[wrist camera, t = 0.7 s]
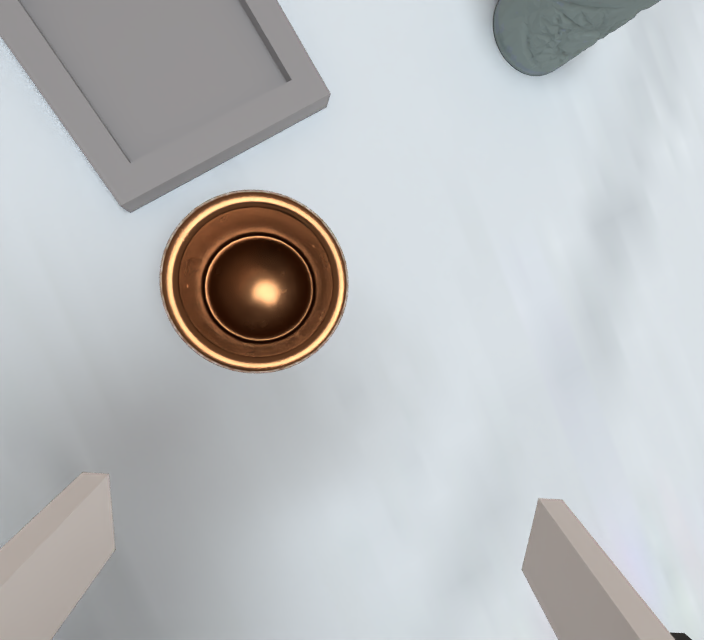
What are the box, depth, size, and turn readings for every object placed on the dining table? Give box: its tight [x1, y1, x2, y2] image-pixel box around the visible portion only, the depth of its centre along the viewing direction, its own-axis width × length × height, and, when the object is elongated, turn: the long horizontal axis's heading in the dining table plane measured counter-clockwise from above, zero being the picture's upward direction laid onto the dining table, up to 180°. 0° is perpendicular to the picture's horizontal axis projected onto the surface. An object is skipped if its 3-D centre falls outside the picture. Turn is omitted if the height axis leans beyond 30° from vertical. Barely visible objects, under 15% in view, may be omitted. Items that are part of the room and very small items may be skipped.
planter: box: [159, 190, 348, 373], centre depth 26 cm, size 11×11×10 cm
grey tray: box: [0, 0, 330, 213], centre depth 27 cm, size 18×21×2 cm
